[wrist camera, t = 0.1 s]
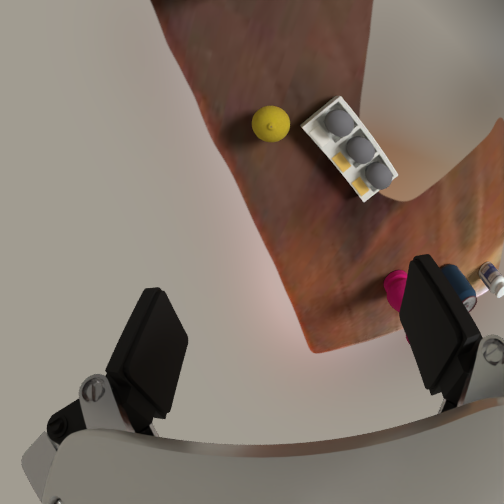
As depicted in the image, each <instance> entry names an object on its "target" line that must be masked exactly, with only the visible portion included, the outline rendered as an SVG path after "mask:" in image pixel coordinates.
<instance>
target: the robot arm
mask: <svg viewBox="0 0 504 504" xmlns="http://www.w3.org/2000/svg"><path fill="white" fill-rule="evenodd" d="M399 316H400V321H401V323H402V326H403V328H404V330H405V333H406V336H407V338H408V341H409V343H410V346H411V348H412V351H413V354H414V357H415V359H416V362H417V365H418V368H419V371H420V374H421V377H422V380H423V383H424V386H425V388H426V389H429V390H430V393H431V395H434V394H437V393H440V392H442V394H443V398H444V399H443V402H442V404H441V407H440V409H439V412H438V414H437V415H434V416H431V417H428V418H425V419H422V420H418V421H415V422H411V423H408V424H404V425H401V426H397V427H393V428H390V429H385V430H381V431H377V432H372V433H367V434H362V435H357V436H352V437H346V438H339V439H332V440H325V441H316V442H307V443H295V444H278V445H277V444H276V445H233V444H214V443H201V442H192V441H183V440H175V439H168V438H162V437H159V435H158V433H157V431H156V430H155V428H154V426H153V424H152V420H153V417H154V418H160V419H165V418H166V414H167V413H169V412H170V410H171V407H172V403H173V399H174V395H175V390H176V387H177V382H178V379H179V375H180V371H181V367H182V364H183V360H184V356H185V352H186V349H187V345H188V336H187V334H186V332H185V330H184V329H183V326H182V324H181V322H180V320H179V318H178V317H177V315H176V313H175V311H174V309H173V307H172V305H171V303H170V301H169V299H168V297H167V295H166V293H165V291H162V290H161V289H160V288H158V287H156V288H146V289H145V290H144V291H143V293H142V295H141V297H140V298H139V301H138V302H137V304H136V306H135V308H134V310H133V312H132V314H131V316H130V318H129V320H128V322H127V324H126V326H125V328H124V330H123V333H122V335H121V337H120V339H119V341H118V343H117V345H116V347H115V350H114V352H113V354H112V356H111V359H110V361H109V363H108V365H107V368H106V370H105V371H106V372H107V374H106V376H104V375H101V374H94V375H92V376H90V377H88V378H87V379H86V380H85V381H84V382H83V383H82V385H81V387H80V389H79V399H77V400H76V401H74V402H73V403H71V404H70V405H68V406H66V407H65V408H63V409H61V410H60V411H58V412H56V413H55V414H53V415H52V416H51V418H50V419H49V421H48V424H47V433H46V432H43V433H42V434H41V435H40V437H39V438H38V439H37V440H36V441H35V442H34V443H33V444H32V445H31V446H30V447H29V449H28V450H27V451H26V452H25V453H24V455H23V456H22V468H23V470H24V472H25V474H26V476H27V478H28V480H29V482H30V484H31V485H32V487H33V489H34V491H35V492H36V494H37V496H38V497H39V499H40V501H41V502H42V504H504V340H503V338H501V337H499V336H497V335H488V336H486V337H484V338H482V336H481V333H480V331H479V329H478V328H477V326H476V324H475V322H474V321H473V319H472V317H471V316H470V314H469V312H468V310H467V309H466V307H465V306H464V304H463V302H462V301H461V299H460V298H459V296H458V294H457V293H456V291H455V290H454V288H453V287H452V285H451V284H450V282H449V281H448V279H447V278H446V277H445V275H444V274H443V272H442V271H441V269H440V268H439V267H438V265H437V264H436V263H435V261H434V260H433V259H432V257H431V256H430V255H429V254H425V255H419V256H415V257H414V259H413V260H412V261H411V262H410V264H409V270H408V275H407V280H406V285H405V290H404V295H403V299H402V303H401V307H400V312H399Z"/></svg>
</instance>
